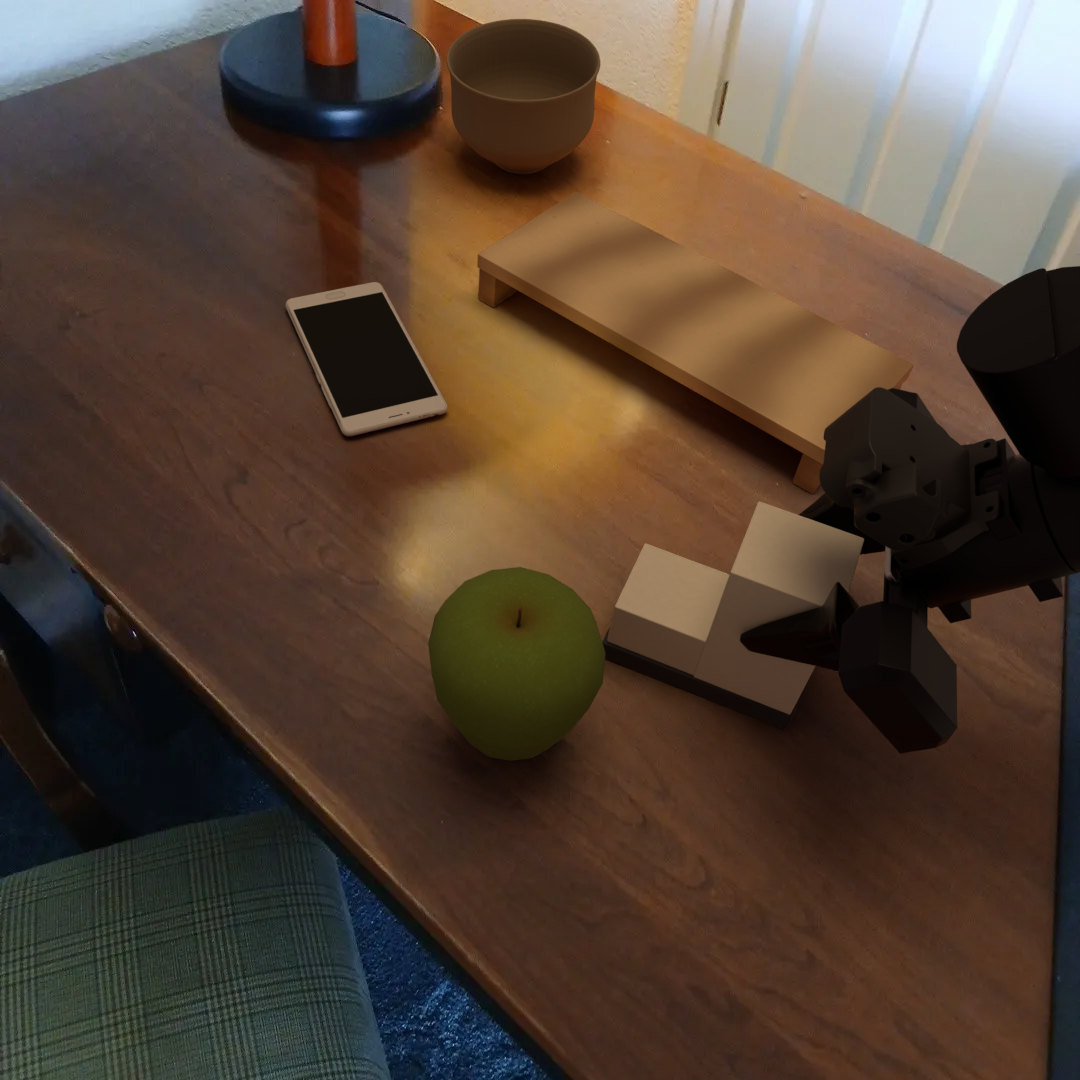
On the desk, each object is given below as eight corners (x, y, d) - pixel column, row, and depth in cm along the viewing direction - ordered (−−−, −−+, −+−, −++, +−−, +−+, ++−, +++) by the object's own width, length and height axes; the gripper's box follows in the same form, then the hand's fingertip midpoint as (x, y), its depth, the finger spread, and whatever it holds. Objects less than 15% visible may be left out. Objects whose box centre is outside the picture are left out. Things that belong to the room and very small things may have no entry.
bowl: (415, 160, 92) (414, 47, 84) (511, 111, 99) (518, 2, 91) (523, 221, 87) (531, 107, 80) (616, 166, 94) (632, 55, 86)
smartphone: (380, 279, 80) (450, 408, 71) (380, 286, 80) (450, 415, 72) (282, 298, 77) (343, 434, 69) (283, 305, 78) (344, 441, 69)
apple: (617, 756, 56) (651, 635, 47) (482, 833, 53) (492, 718, 44) (530, 640, 61) (547, 509, 52) (400, 703, 57) (394, 575, 48)
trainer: (809, 657, 61) (869, 538, 53) (786, 731, 58) (846, 616, 50) (630, 588, 64) (660, 464, 55) (599, 656, 60) (625, 534, 52)
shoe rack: (895, 406, 76) (914, 364, 73) (814, 496, 70) (832, 454, 67) (571, 233, 87) (576, 190, 84) (475, 297, 80) (477, 253, 77)
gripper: (974, 253, 48) (692, 381, 58) (984, 556, 36) (627, 654, 46) (1068, 416, 53) (796, 509, 63) (1104, 728, 41) (762, 783, 51)
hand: (750, 598), depth 55 cm, fingers closed on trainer, 5 cm apart
